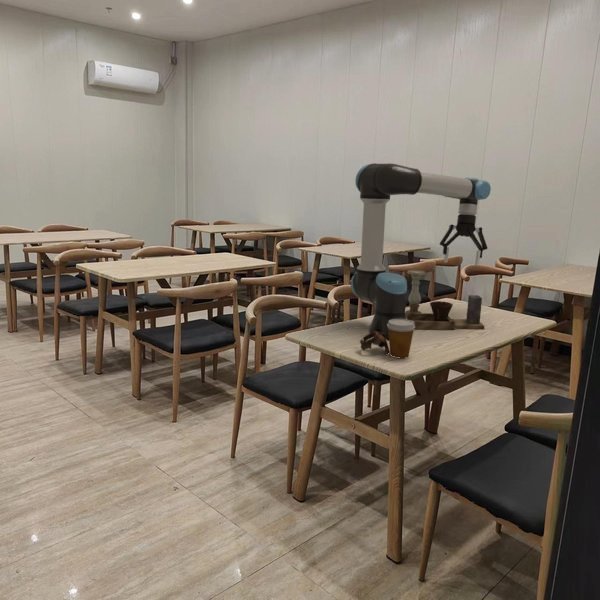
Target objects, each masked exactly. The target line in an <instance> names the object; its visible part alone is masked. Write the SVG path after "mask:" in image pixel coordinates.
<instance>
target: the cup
mask: <svg viewBox="0 0 600 600" xmlns="http://www.w3.org/2000/svg"><path fill="white" fill-rule="evenodd" d="M429 304H430V305H429V306H430V308H431V311H432V313H433V317H434V321H439V322H446V321H447V318H448V316H449V315H450V312H451V310H452V307H453V305H454V304H453V303H451V302H448V301H441V300H438V301H436V300H435V301H431V302H430V303H429Z"/></svg>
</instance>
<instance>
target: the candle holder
mask: <svg viewBox="0 0 600 600" xmlns="http://www.w3.org/2000/svg"><path fill="white" fill-rule="evenodd" d="M406 272H407V274H408V275H411V278H412V281H411V283H410V284H411V292H410V293H409V295H408V302H409V304H408V307H409V310H407V311H406V310H405V318H406V319H407V313H422V311H419V308H420V307H421V305H420V304H421V301H422V297H421V294H420V291H419V290H420V289H419V288H420V287H419V286H420V285H421V282H420V279H421V277H422V275H423V276H424V275H426V271H424V270H422V269H421V270H420V269H410V270H407V271H406Z"/></svg>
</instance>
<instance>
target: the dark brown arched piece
mask: <svg viewBox="0 0 600 600" xmlns="http://www.w3.org/2000/svg"><path fill="white" fill-rule="evenodd" d="M359 343H360V349H361V350H363V349H364V350H367V349H368V350H372V344H373V345H376V346H378V348H384V353H385V355H386V354H388V353H389V354H390V346H389V344H388V341H387V340H386V335H385V333H383V332H380V333H378V332H372V333H369V332H368V333H367V334H366V335H364V336H363V337H362V339H360V340H359ZM389 354H388V355H389Z"/></svg>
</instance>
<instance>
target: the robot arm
mask: <svg viewBox="0 0 600 600" xmlns="http://www.w3.org/2000/svg"><path fill="white" fill-rule="evenodd" d="M355 188H357V190H358V192H359V199H360V200H361V202H362V203H363V209H362V210H363V211H362V213H363V214H362V230H361V232H362V233H361V252H360V254H361V255H360V263H359V265H357V267H356V271H355V272H354V273H353V274H354V275H352V277H351V280H350V289H351V291H352V293H353V294H354V295H355V296H356V297H358V298H359V299H360V300H363V301H365V302H369V303H371V304H374V314H373V317H372V320H371V323H370V326H369V328H368V330H369V331H368V334H369V333H372V332H378V333H380V332H383V333H385V335H386V339H389V332H388V326H387V324H388V322H389V320H392V319H406V320H407V318H406V317H405V313H406V307H407V296H408V295H407V293H408V281H407V278H405V277H404V276H403V275H401V274H398V273H393V272H387V271H386V270H387V269H386V267H385V266H384V265H383V259H384V258H383V256H384V238H385V225H386V222H385V221H386V205H387V203H388V202H389V201H390V200H391V196H396V195H397V196H398V195H410V196H412V195H413V196H414V195H417V194H427V195H435V196H441V197H445V198H451V199H456V200H459V206H458V211H457V212H458V213H457V214H458V215H457V220H456V224H455V225H454V224H449V225H448V229H447V231H446V232H445V234H444V235H443V237H442V239H441V241H440V242H439V245H440V246H442V248H443V249H442V255H444V259H443V263H448V260H449V255H450V254H449V252H450V247H449V246H450V245H451V243H453V242H454V241H455V240H456V239H457V238H459V236H460V237H469V238H470V239H471V241H472V242H473V243H474V245H475V246H476V248H477V249H478V250H476V253H475V254H476V255H475V261H474V263H475V264H474V266H480V259H482V258H483V251H485V250H488V248H489V247H488V245H487V243H486V238H485V236H484V233H483V227H476V223H477V222H476V220H477V216H476V215H477V214H478V213H477V212H478V203H479V200H480V201H481V200H482V201H483V200H486V199H487V198H488V197H489V196H490V194H491V189H492V187H491V183H490V182H488V181H487V180H483V179H479V178H476V177H457V176H450V175H444V174H442V175H441V174H435V173H429V172H422V171H420V169H418V168H414V167H408V166H404V165H402V164H401V165H400V164H396V163H392V162H391V163H369V164H365V165H363V166H362V167H361V168H360V169H359V170H358V171H357V173H356V176H355ZM454 230H455V231H456V232H455V233H454V234H453V235H452V236H451V237H450V235H451V234H452V232H453V231H454ZM475 232H476V233H477V236H478V238H479V239H478V238H477V237H476V235H475V234H474V233H475ZM449 237H450V238H449ZM448 238H449V239H448ZM447 239H448V240H447Z"/></svg>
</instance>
